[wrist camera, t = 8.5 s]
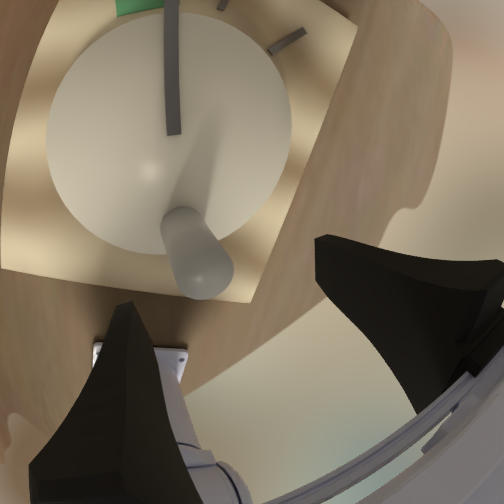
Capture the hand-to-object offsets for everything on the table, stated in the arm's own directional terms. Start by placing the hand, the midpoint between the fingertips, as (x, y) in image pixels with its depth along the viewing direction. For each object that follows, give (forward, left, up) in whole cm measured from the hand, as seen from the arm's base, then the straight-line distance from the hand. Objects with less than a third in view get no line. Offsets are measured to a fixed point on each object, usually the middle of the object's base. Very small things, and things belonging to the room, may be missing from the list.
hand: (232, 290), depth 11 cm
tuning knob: (+6, +3, -8) cm, 11 cm away
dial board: (+5, +2, -10) cm, 11 cm away
